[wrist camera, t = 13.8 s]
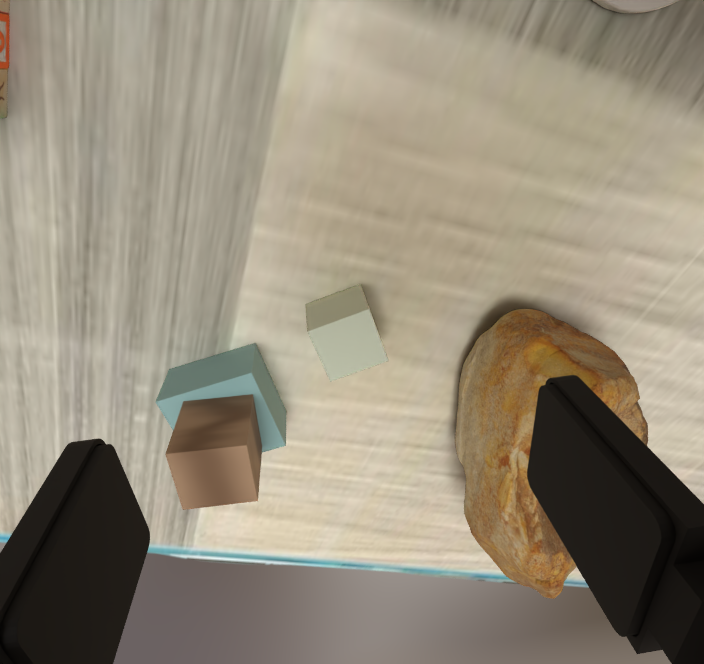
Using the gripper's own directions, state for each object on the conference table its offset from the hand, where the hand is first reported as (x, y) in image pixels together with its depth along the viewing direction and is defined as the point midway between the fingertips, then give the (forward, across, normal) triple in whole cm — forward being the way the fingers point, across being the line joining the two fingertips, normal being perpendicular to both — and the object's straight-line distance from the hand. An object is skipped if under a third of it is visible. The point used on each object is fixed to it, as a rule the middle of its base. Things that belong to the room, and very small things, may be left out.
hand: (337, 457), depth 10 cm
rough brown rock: (+29, -20, +23) cm, 42 cm away
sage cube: (+28, -2, +11) cm, 31 cm away
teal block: (+29, +9, +17) cm, 34 cm away
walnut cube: (+24, +9, +17) cm, 30 cm away
